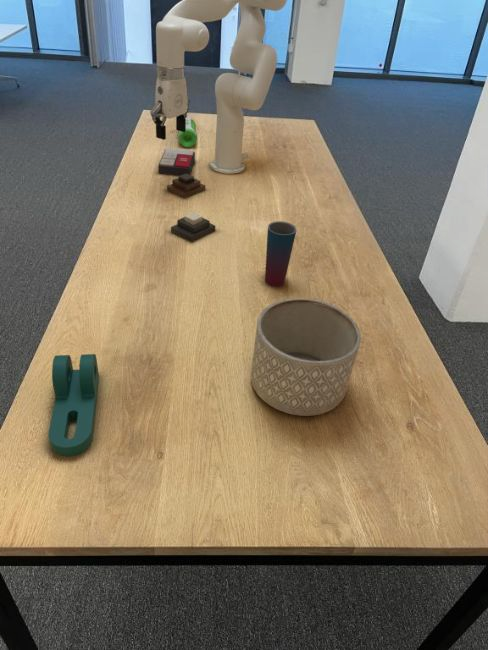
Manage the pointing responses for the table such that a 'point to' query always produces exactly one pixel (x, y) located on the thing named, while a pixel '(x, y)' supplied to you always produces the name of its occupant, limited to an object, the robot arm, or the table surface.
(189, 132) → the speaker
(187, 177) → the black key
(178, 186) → the walnut key block
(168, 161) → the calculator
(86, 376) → the bracket
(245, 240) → the table surface
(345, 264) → the table surface
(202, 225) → the block
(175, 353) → the table surface
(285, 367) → the planter
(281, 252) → the cup
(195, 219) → the ivory key
